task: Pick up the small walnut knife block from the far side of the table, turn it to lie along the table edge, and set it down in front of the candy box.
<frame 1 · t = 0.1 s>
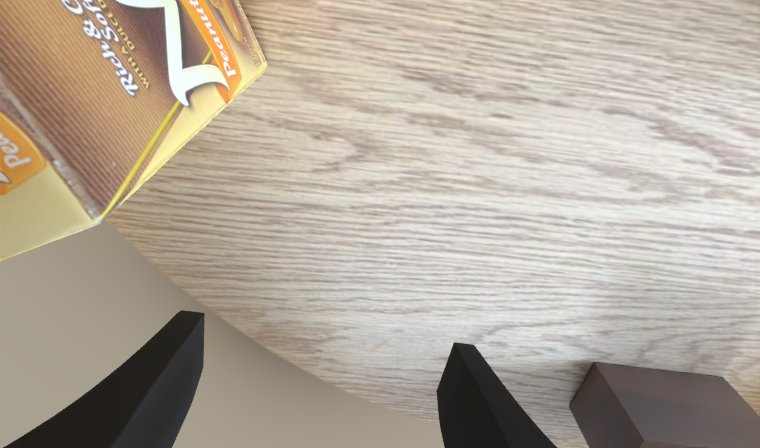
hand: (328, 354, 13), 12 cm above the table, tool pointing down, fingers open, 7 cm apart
knife block: (645, 392, 32), on the table
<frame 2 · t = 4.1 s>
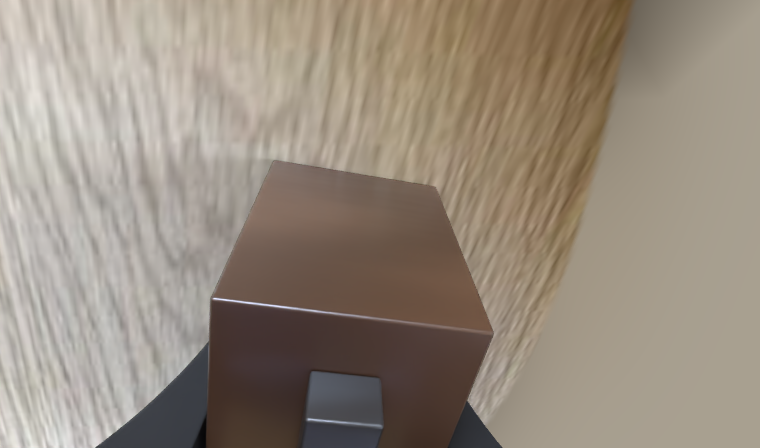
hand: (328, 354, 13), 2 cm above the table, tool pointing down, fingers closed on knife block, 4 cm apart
knife block: (330, 315, 15), on the table, touching gripper
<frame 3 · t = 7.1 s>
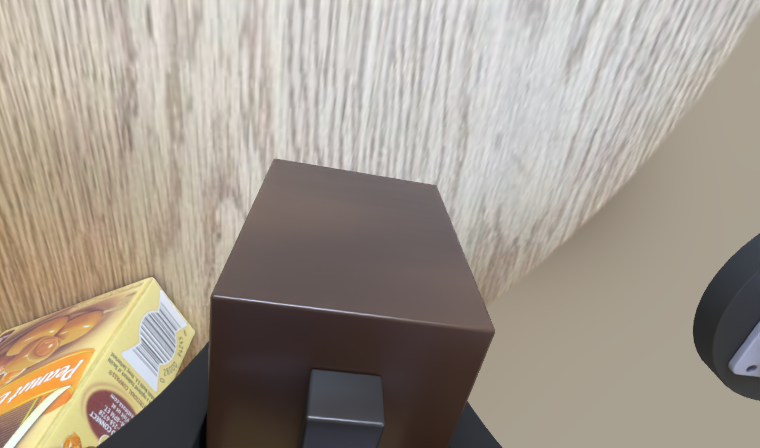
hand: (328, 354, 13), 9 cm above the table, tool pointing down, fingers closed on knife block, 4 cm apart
knife block: (330, 314, 15), point 7 cm above the table, touching gripper
candy box: (105, 328, 23), on the table
when the fingers open (2 cm above the table, at t = 10.6 s): knife block stays where it is, on the table.
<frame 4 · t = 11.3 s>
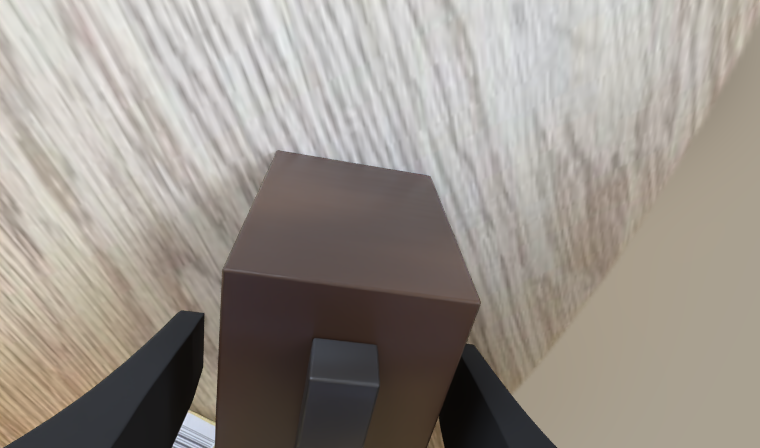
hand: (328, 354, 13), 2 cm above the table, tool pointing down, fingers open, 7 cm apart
knife block: (330, 300, 15), on the table
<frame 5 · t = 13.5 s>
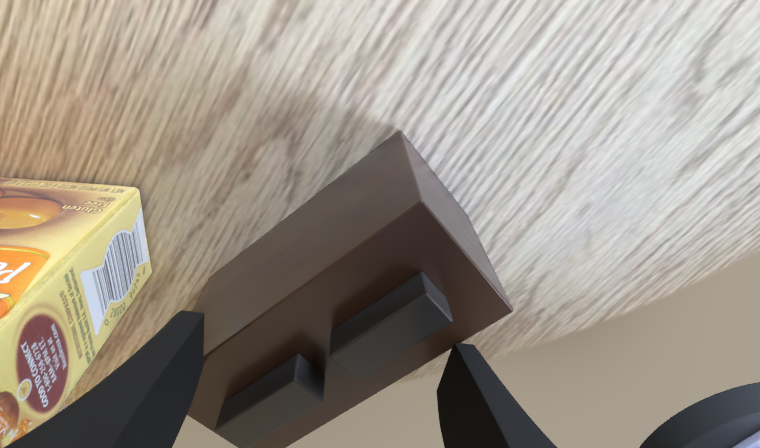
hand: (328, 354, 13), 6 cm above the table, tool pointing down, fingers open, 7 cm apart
knife block: (335, 246, 18), on the table
candy box: (34, 222, 17), on the table
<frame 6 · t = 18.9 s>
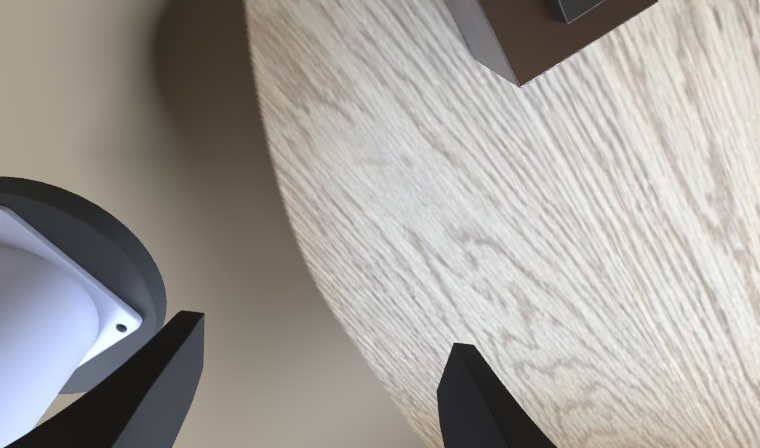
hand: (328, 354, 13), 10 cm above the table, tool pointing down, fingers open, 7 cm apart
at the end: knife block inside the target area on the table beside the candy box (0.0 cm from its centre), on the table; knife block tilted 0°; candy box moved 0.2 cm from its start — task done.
